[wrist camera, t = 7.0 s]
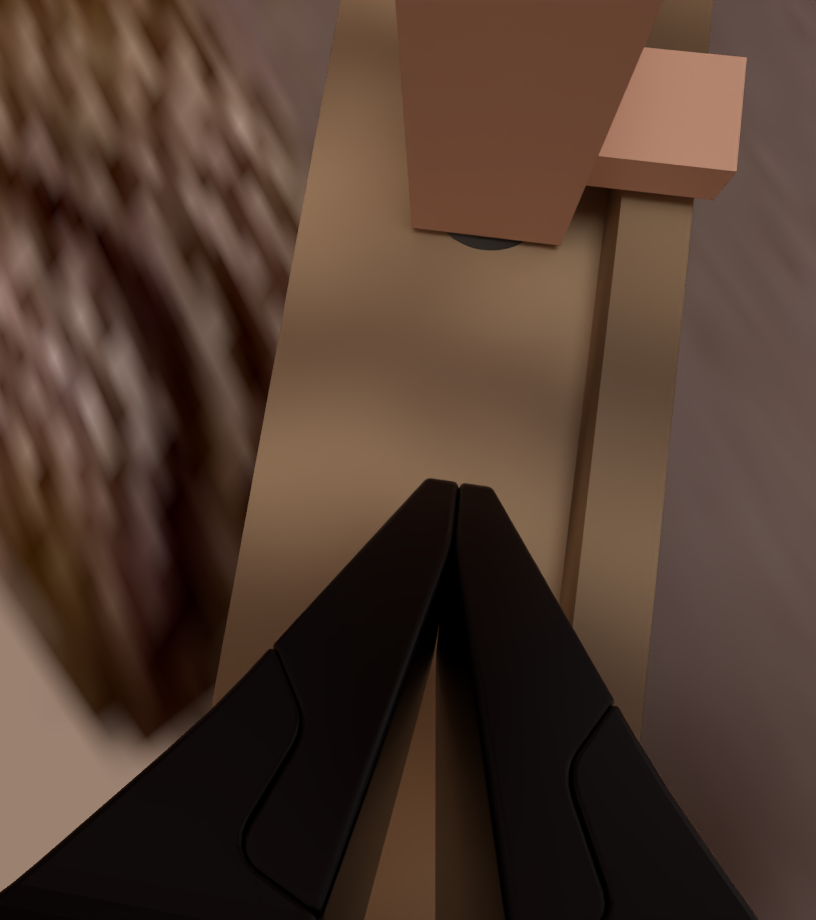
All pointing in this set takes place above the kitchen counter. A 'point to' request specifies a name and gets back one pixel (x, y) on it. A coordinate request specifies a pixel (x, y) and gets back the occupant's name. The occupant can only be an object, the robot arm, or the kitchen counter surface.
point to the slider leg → (554, 112)
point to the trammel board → (463, 398)
